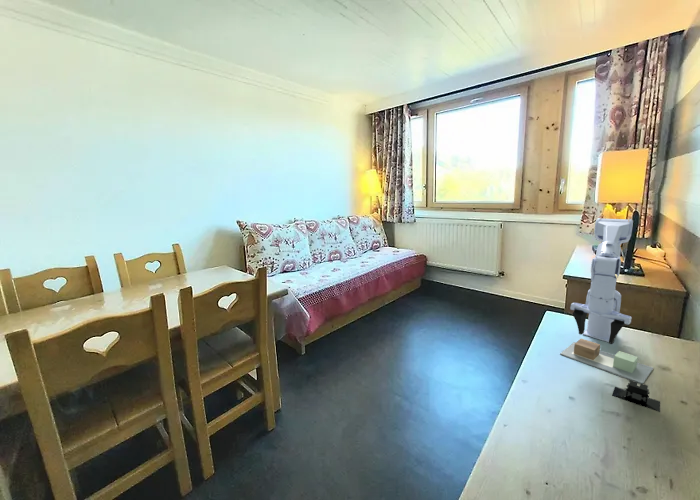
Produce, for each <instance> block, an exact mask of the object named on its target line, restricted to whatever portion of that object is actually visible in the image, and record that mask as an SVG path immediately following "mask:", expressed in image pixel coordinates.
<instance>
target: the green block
mask: <svg viewBox="0 0 700 500" xmlns="http://www.w3.org/2000/svg"><path fill="white" fill-rule="evenodd" d="M614 355H615V356H614V362H613V367H616V368H619V369H622V370H624V371H627V372H630V373H633V371H634V370H635V369H636V366H637V362H638V360H639V359H638V358H639V356H636V355H633V354H631V353H630V354H629V353H627V352H623V351H620V350H619V351H617V352H616V354H614Z"/></svg>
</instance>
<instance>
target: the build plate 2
mask: <svg viewBox="0 0 700 500" xmlns="http://www.w3.org/2000/svg"><path fill="white" fill-rule="evenodd" d="M638 384H639V385H638ZM649 391H650V389H649V385H648V384H644V383H643V384H641V383H637V382H635V381H632V380H629V382H628V383H627V385H626V388H621V387H618V386H614V388H613V391H612V395H611V396H612V397H614V398H617V399H619V400H623V401H625V402H629V403H632V404H635V405H637V406H641V407H644V408H646V409H648V410H649V409H650V410H652V411H655V412H657V413H661V401H660V400H657V399H654V398H652V397H650V394H651V393H650V392H649Z"/></svg>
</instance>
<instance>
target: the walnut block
mask: <svg viewBox="0 0 700 500" xmlns="http://www.w3.org/2000/svg"><path fill="white" fill-rule="evenodd" d="M575 342H576V343H575V346H574V354H577V355H580V356H582V357H585V358H588V359H591V360H594V359H595V358H596V357H597V356H598V355H599V352H600V350H601V344H599V343H597V342H594V341H590V340H587V339H585V338H579V339H578V341H575Z"/></svg>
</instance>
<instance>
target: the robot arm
mask: <svg viewBox="0 0 700 500" xmlns="http://www.w3.org/2000/svg"><path fill="white" fill-rule="evenodd" d="M633 223H634V220H633V219H632V218H629V219H627V218H624V219H622V218H620V219H619V218H601V217H598V218H596V219H595V224H594V232H593V234H594V238H595V240H596V241H599V242H600V243H599V244H598V245H597V248H596V253H595V257H592V260H591V266H590V274H591V275H590V281H591V282H590V288H589V289H588V290H587V294H586V298H585V299H586V300H585V303H579V302H572V303H571V304H570V307H569V308H570V310H571V311H573V312H572V316H573V318H574V319H575V322H576V325H577V331H578V334H579V335H583V336H586V337H590V338H594V339H595V340H596V339H597V340H600V341H603V342H606V343H608V344H610V345H612V344H613V343H614V342H615V341H616V338H617V335H618V334H619V333H620V331H621V329H622V328H623V327H624V326H625V325H627V326H628V325H630V324H631V323H632V319H633V318H632V316H630V315H627V314H623V313H621V311H620V310H621V303H622V294H621V293H620V292H619V291H618V290H617V289H616V288H617V287H616V285H617V279H618V278H619V276H620V274H621V273H620V272H621V271H620V270H621V265H622V259H621V252H622V248H621V245H622V244H625V243H629V241H630V240H631V237H632V232H633ZM587 315H588V318H587ZM586 320H587V328H586V329H585V327H586Z"/></svg>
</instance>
